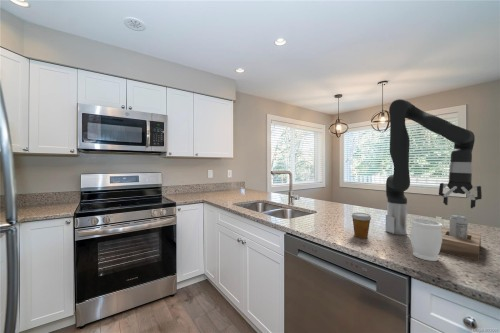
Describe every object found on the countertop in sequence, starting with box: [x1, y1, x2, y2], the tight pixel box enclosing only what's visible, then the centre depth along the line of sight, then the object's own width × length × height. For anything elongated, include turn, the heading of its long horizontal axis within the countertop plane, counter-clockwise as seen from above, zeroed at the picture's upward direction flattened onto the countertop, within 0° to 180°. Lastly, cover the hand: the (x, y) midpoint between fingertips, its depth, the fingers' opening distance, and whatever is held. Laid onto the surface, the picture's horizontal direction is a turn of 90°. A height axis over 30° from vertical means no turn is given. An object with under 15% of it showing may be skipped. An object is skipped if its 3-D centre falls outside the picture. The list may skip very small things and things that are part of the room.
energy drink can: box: [448, 214, 469, 239], centre depth 100 cm, size 6×6×15 cm
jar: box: [409, 218, 443, 262], centre depth 90 cm, size 11×10×15 cm
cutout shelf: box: [439, 226, 482, 261], centre depth 100 cm, size 24×14×6 cm, turn 131°
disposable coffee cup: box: [351, 212, 372, 239], centre depth 115 cm, size 10×10×12 cm
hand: (458, 206), depth 100 cm, fingers open, 8 cm apart
